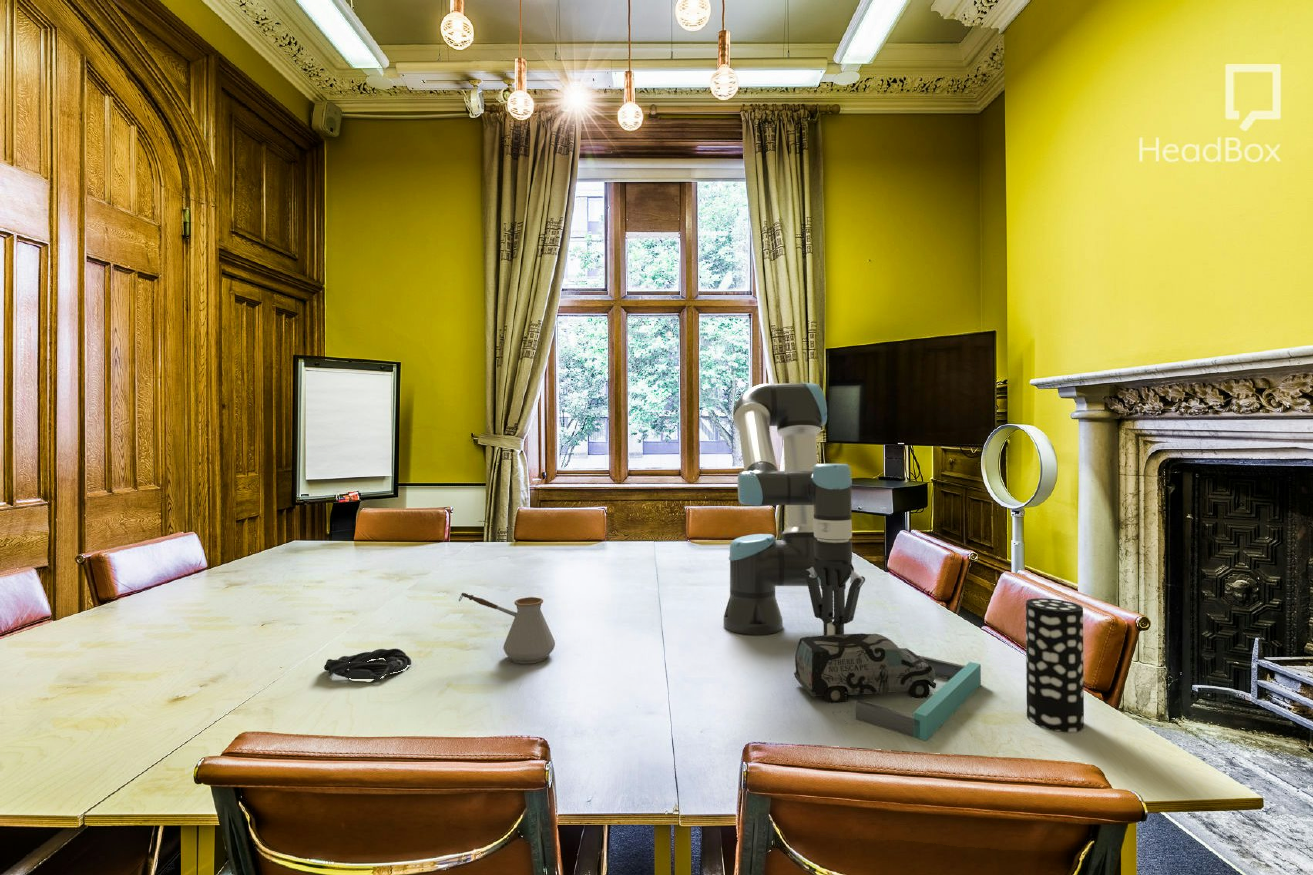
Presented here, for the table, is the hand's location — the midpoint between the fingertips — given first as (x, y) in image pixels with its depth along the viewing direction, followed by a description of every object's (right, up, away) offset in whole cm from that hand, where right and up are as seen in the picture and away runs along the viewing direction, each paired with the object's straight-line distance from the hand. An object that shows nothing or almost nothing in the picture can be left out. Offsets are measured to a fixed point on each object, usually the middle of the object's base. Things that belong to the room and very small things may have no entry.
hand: (833, 654), depth 128 cm
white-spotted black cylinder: (+32, -5, -20) cm, 38 cm away
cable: (-99, -6, +7) cm, 99 cm away
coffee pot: (-70, -6, +13) cm, 71 cm away
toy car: (+4, -5, -6) cm, 9 cm away
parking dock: (+14, -5, -12) cm, 19 cm away
